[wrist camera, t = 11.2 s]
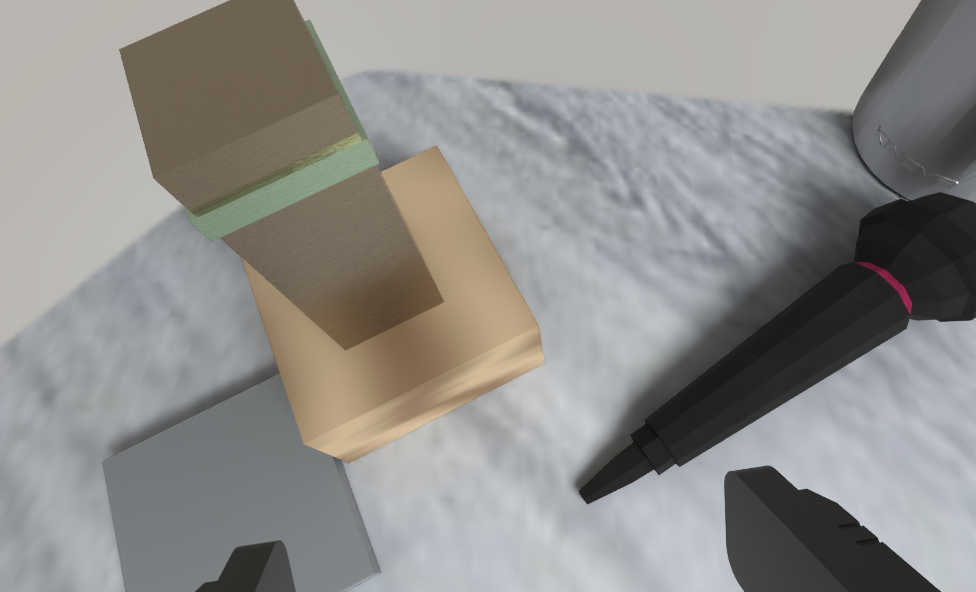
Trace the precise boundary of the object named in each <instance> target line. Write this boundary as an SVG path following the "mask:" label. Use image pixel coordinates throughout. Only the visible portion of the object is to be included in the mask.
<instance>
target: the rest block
mask: <svg viewBox="0 0 976 592" xmlns="http://www.w3.org/2000/svg"><path fill="white" fill-rule="evenodd" d="M381 174H382V176H383V178H384V180H385V182H386V184H387V186H388V188H389V190H390V192H391V193H392V195H393V197H394V199H395V201H396V203H397V205H398V207H399V209H400V211H401V213H402V215H403V217H404V219H405V221H406V223H407V225H408V227H409V230H410V232H411V234H412V236H413V238H414V240H415V242H416V244H417V246H418V248H419V250H420V252H421V254H422V256H423V258H424V260H425V263H426V265H427V267H428V269H429V271H430V273H431V275H432V277H433V279H434V281H435V283H436V285H437V287H438V289H439V291H440V293H441V296H442V298H443V300H444V303H442V304H440V305H438V306H436V307H434V308H432V309H430V310H428V311H426V312H423V313H421V314H419V315H417V316H415V317H413V318H411V319H409V320H407V321H405V322H403V323H401V324H399V325H397V326H395V327H393V328H391V329H389V330H387V331H385V332H382V333H380V334H378V335H376V336H374V337H372V338H370V339H368V340H366V341H364V342H362V343H360V344H358V345H356V346H354V347H352V348H350V349H348V350H346V351H345V350H344V349H343V348H342V347H341V346H340V345H339V344H338V343H336V342H335V341H334V340H333V339H332V338H331V337H330V336H329V335H328V334H326V333H325V332H324V331H323V330H322V329H321V328H320V327H319V326H318V325H316V324H315V323H314V322H313V321H312V320H311V319H310V318H309V317H307V316H306V315H305V314H304V313H303V312H302V311H301V310H300V309H299V308H297V307H296V306H295V305H294V304H293V303H292V302H291V301H290V300H289V299H287V298H286V297H285V296H284V295H283V294H282V293H281V292H280V291H278V290H277V289H276V288H275V287H274V286H273V285H272V284H271V283H270V282H268V281H267V280H266V279H265V278H264V277H263V276H262V275H261V274H260V273H258V272H257V271H256V270H255V269H254V268H253V267H252V266H251V265H249V264H248V263H247V262H246V261H245V260H244V259H243V258H242V257H241V259H242V262H243V265H244V268H245V271H246V274H247V277H248V280H249V283H250V286H251V289H252V292H253V295H254V298H255V301H256V304H257V307H258V310H259V313H260V316H261V319H262V322H263V324H264V327H265V330H266V333H267V336H268V339H269V342H270V345H271V348H272V351H273V354H274V357H275V360H276V363H277V366H278V369H279V372H280V375H281V378H282V381H283V384H284V387H285V390H286V393H287V396H288V399H289V402H290V405H291V408H292V411H293V414H294V417H295V420H296V423H297V426H298V429H299V431H300V434H301V437H302V440H303V443H304V445H307V446H309V447H312V448H314V449H316V450H319V451H321V452H324V453H326V454H329V455H331V456H333V457H336V458H338V459H341V460H343V461H345V462H348V463H350V462H352V461H354V460H356V459H358V458H360V457H362V456H364V455H366V454H368V453H370V452H372V451H374V450H376V449H378V448H379V447H381V446H383V445H385V444H387V443H389V442H391V441H393V440H395V439H397V438H399V437H401V436H403V435H405V434H407V433H409V432H411V431H413V430H415V429H417V428H419V427H421V426H423V425H425V424H426V423H428V422H430V421H432V420H434V419H436V418H438V417H440V416H442V415H444V414H446V413H448V412H450V411H452V410H454V409H456V408H458V407H460V406H462V405H464V404H466V403H468V402H470V401H472V400H473V399H475V398H477V397H479V396H481V395H483V394H485V393H487V392H489V391H491V390H493V389H495V388H497V387H499V386H501V385H503V384H505V383H507V382H509V381H511V380H513V379H515V378H517V377H518V376H520V375H522V374H524V373H526V372H528V371H530V370H532V369H534V368H536V367H538V366H540V365H542V364H544V363H545V362H544V356H543V349H542V343H541V337H540V330H539V325H538V323H537V321H536V320H535V318H534V316H533V314H532V313H531V311H530V309H529V307H528V306H527V304H526V302H525V300H524V298H523V297H522V295H521V293H520V291H519V290H518V288H517V286H516V284H515V283H514V281H513V279H512V277H511V275H510V274H509V272H508V270H507V268H506V267H505V265H504V263H503V261H502V260H501V258H500V256H499V254H498V252H497V251H496V249H495V247H494V245H493V244H492V242H491V240H490V238H489V236H488V235H487V233H486V231H485V229H484V228H483V226H482V224H481V222H480V221H479V219H478V217H477V215H476V213H475V212H474V210H473V208H472V206H471V205H470V203H469V201H468V199H467V198H466V196H465V194H464V192H463V190H462V189H461V187H460V185H459V183H458V182H457V180H456V178H455V176H454V175H453V173H452V171H451V169H450V167H449V166H448V164H447V162H446V160H445V159H444V157H443V155H442V153H441V152H440V150H439V148H438V146H437V145H436V146H434V147H432V148H430V149H428V150H426V151H424V152H422V153H419V154H417V155H415V156H413V157H411V158H409V159H407V160H405V161H403V162H401V163H399V164H396V165H394V166H392V167H390V168H388V169H386V170H384V171H382V172H381Z"/></svg>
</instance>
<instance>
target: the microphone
mask: <svg viewBox="0 0 976 592" xmlns="http://www.w3.org/2000/svg"><path fill="white" fill-rule="evenodd" d="M974 318H976V203H975V202H973V201H970V200H967V199H963V198H960V197H956V196H953V195H949V194H946V193H942V192H938V193H934V194H930V195H926V196H922V197H920V198H917V199H914V200H911V201H909V202H908V201H905V200H902V199H899V200H896V201H894V202H891V203H888V204H886V205H883V206H880V207H878V208H875V209H874V210H872V211H871V212H870V213H869V214H867V215H866V216H865V217H864V218H862V219H861V220H860V228H859V237H858V241H857V243H856V251H855V259H854V262H852V263H848V264H844V265H841V266H839V267H838V268H837V269H836V270H834V271H833V272H832V273H830V274H829V275H828V276H827V277H825V278H824V279H823V280H822V281H820V282H819V283H818V284H816V285H815V286H814V287H813V288H811V289H810V290H809V291H808V292H806V293H805V294H804V295H803V296H801V297H800V298H799V299H797V300H796V301H795V302H794V303H792V304H791V305H790V306H789V307H787V308H786V309H785V310H784V311H782V312H781V313H780V314H778V315H777V316H776V317H775V318H773V319H772V320H771V321H770V322H768V323H767V324H766V325H764V326H763V327H762V328H761V329H759V330H758V331H757V332H756V333H754V334H753V335H752V336H751V337H749V338H748V339H747V340H745V341H744V342H743V343H742V344H740V345H739V346H738V347H737V348H735V349H734V350H733V351H731V352H730V353H729V354H728V355H726V356H725V357H724V358H723V359H721V360H720V361H719V362H718V363H716V364H715V365H714V366H712V367H711V368H710V369H709V370H707V371H706V372H705V373H704V374H702V375H701V376H700V377H699V378H697V379H696V380H695V381H693V382H692V383H691V384H690V385H688V386H687V387H686V388H685V389H683V390H682V391H681V392H679V393H678V394H677V395H676V396H674V397H673V398H672V399H671V400H669V401H668V402H667V403H666V404H664V405H663V406H662V407H660V408H659V409H658V410H657V411H655V412H654V413H653V414H652V415H650V416H649V417H648V418H647V419H645V422H646V424H645V425H644V426H643V427H641V428H640V429H638V430H637V431H635V432H634V433H633V434H631V437H632V439H633V441H634V443H632V444H631V445H630V446H629V447H627V448H626V449H625V450H623V451H622V452H621V453H620V454H618V455H617V456H616V457H615V458H613V459H612V460H611V461H610V462H609V463H608V464H607V465H606V466H605V467H604V468H603V469H602V470H601V471H600V472H599V473H598V474H597V475H596V476H595V477H593V478H592V479H591V480H590V481H589V482H588V483H587V484H586V485H585V486H584V487H583V488H582V489H581V490H580V491H579V493H580V495H581V496H582V498H583V499H584V501H585V502H586V503H587V504H589V503H591V502H593V501H596V500H598V499H600V498H602V497H604V496H606V495H608V494H610V493H612V492H614V491H616V490H618V489H620V488H622V487H624V486H626V485H628V484H631V483H632V482H634V481H636V480H637V479H639V478H641V477H642V476H644V475H646V474H647V473H649V472H650V471H652V470H655V471H656V472H657V473H658V475H660V474H661V473H663V472H664V471H666V470H667V469H669V468H670V467H671V466H673V465H674V464H677V465H678V466H679V467H680V466H682V465H684V464H685V463H687V462H689V461H690V460H692V459H693V458H695V457H697V456H698V455H700V454H702V453H703V452H705V451H707V450H708V449H710V448H712V447H713V446H715V445H716V444H718V443H720V442H721V441H723V440H725V439H726V438H728V437H730V436H731V435H733V434H734V433H736V432H738V431H739V430H741V429H743V428H744V427H746V426H748V425H749V424H751V423H753V422H754V421H756V420H757V419H759V418H761V417H762V416H764V415H766V414H767V413H769V412H771V411H772V410H774V409H775V408H777V407H779V406H780V405H782V404H784V403H785V402H787V401H789V400H790V399H792V398H794V397H795V396H797V395H798V394H800V393H802V392H803V391H805V390H807V389H808V388H810V387H812V386H813V385H815V384H817V383H818V382H820V381H821V380H823V379H825V378H826V377H828V376H830V375H831V374H833V373H835V372H836V371H838V370H839V369H841V368H843V367H844V366H846V365H848V364H849V363H851V362H853V361H854V360H856V359H858V358H859V357H861V356H862V355H864V354H866V353H867V352H869V351H871V350H872V349H874V348H876V347H877V346H879V345H880V344H882V343H884V342H885V341H887V340H889V339H890V338H892V337H894V336H895V335H897V334H899V333H900V332H902V331H903V330H905V329H907V325H908V322H909V319H913V320H938V321H940V322H947V321H969V320H973V319H974Z"/></svg>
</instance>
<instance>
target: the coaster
mask: <svg viewBox="0 0 976 592" xmlns="http://www.w3.org/2000/svg"><path fill="white" fill-rule="evenodd" d="M102 464H103V469H104V475H105V480H106V486H107V491H108V497H109V502H110V508H111V513H112V519H113V524H114V530H115V535H116V541H117V546H118V552H119V557H120V563H121V569H122V574H123V580H124V585H125V591H126V592H195V591H196V590H197V589H198V588H199V587H200V586H201V585H202V584H203V583H205V582H212V581H218V579H219V577H220V575H221V573H222V571H223V569H224V567H225V565H226V563H227V561H228V560H229V558H230V556H231V554H232V552H233V550H234V549H235V548H236V547H239V546H245V545H252V544H258V543H265V542H271V541H278V540H281V541H282V542H283V543H284V545H285V547H286V550H287V554H288V558H289V563H290V567H291V572H292V576H293V581H294V585H295V589H296V592H346V591H348V590H350V589H351V588H353V587H355V586H357V585H359V584H361V583H363V582H365V581H367V580H369V579H370V578H372V577H374V576H376V575H378V574H380V573H381V571H380V568H379V565H378V562H377V560H376V557H375V554H374V551H373V549H372V546H371V543H370V540H369V537H368V535H367V532H366V529H365V526H364V524H363V521H362V518H361V515H360V512H359V510H358V507H357V504H356V501H355V499H354V496H353V493H352V490H351V487H350V485H349V482H348V479H347V476H346V474H345V471H344V468H343V465H342V462H341V460H340V459H338V458H336V457H333V456H331V455H329V454H326V453H324V452H321V451H319V450H316V449H314V448H312V447H309V446H307V445H304V443H303V440H302V437H301V434H300V431H299V429H298V426H297V423H296V420H295V417H294V414H293V411H292V408H291V405H290V402H289V399H288V396H287V393H286V390H285V387H284V384H283V381H282V378H281V375H280V373H279V374H277V375H275V376H273V377H271V378H269V379H267V380H265V381H263V382H261V383H259V384H257V385H255V386H253V387H251V388H249V389H247V390H245V391H243V392H241V393H239V394H237V395H235V396H233V397H231V398H229V399H227V400H225V401H223V402H221V403H219V404H217V405H215V406H213V407H211V408H209V409H207V410H205V411H203V412H201V413H199V414H197V415H195V416H193V417H191V418H189V419H187V420H185V421H183V422H181V423H178V424H176V425H174V426H172V427H170V428H168V429H166V430H164V431H162V432H160V433H158V434H156V435H154V436H152V437H150V438H148V439H146V440H144V441H142V442H140V443H138V444H136V445H134V446H132V447H130V448H128V449H126V450H124V451H122V452H120V453H118V454H116V455H114V456H112V457H110V458H108V459H106V460H104V461H102Z"/></svg>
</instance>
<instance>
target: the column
mask: <svg viewBox="0 0 976 592" xmlns="http://www.w3.org/2000/svg"><path fill="white" fill-rule="evenodd" d="M119 51H120V54H121V58H122V62H123V66H124V69H125V73H126V77H127V80H128V84H129V88H130V92H131V95H132V99H133V103H134V107H135V110H136V114H137V118H138V122H139V126H140V129H141V133H142V137H143V141H144V144H145V148H146V152H147V156H148V159H149V163H150V167H151V170H152V174H153V178H154V179H155V180H156V181H157V182H158V183H159V184H160V185H161V186H163V187H164V188H165V189H166V190H167V191H168V192H169V193H170V194H172V195H173V196H174V197H175V198H176V199H177V200H178V201H179V202H180V203H181V204H183V205H184V206H185V209H186V213H187V216H188V220H189V222H190V223H191V224H192V225H193V226H195V227H196V228H197V229H198V230H199V231H200V232H202V233H203V234H204V235H205V236H206V237H207V238H208V239H210V240H211V241H214V240H217V239H219V238H220V239H222V240H223V241H224V242H225V243H226V244H227V245H228V246H229V247H231V248H232V249H233V250H234V251H235V252H236V253H237V254H238V255H239V256H241V257H242V258H243V259H244V260H245V261H246V262H247V263H248V264H249V265H251V266H252V267H253V268H254V269H255V270H256V271H257V272H258V273H260V274H261V275H262V276H263V277H264V278H265V279H266V280H267V281H268V282H270V283H271V284H272V285H273V286H274V287H275V288H276V289H277V290H278V291H280V292H281V293H282V294H283V295H284V296H285V297H286V298H287V299H289V300H290V301H291V302H292V303H293V304H294V305H295V306H296V307H297V308H299V309H300V310H301V311H302V312H303V313H304V314H305V315H306V316H307V317H309V318H310V319H311V320H312V321H313V322H314V323H315V324H316V325H318V326H319V327H320V328H321V329H322V330H323V331H324V332H325V333H326V334H328V335H329V336H330V337H331V338H332V339H333V340H334V341H335V342H336V343H338V344H339V345H340V346H341V347H342V348H343V349H344V350H345V351H346V350H348V349H350V348H352V347H354V346H356V345H358V344H360V343H362V342H364V341H366V340H368V339H370V338H372V337H374V336H376V335H378V334H380V333H382V332H385V331H387V330H389V329H391V328H393V327H395V326H397V325H399V324H401V323H403V322H405V321H407V320H409V319H411V318H413V317H415V316H417V315H419V314H421V313H423V312H426V311H428V310H430V309H432V308H434V307H436V306H438V305H440V304H442V303H444V300H443V298H442V296H441V293H440V291H439V289H438V287H437V285H436V283H435V281H434V279H433V277H432V275H431V273H430V271H429V269H428V267H427V265H426V263H425V260H424V258H423V256H422V254H421V252H420V250H419V248H418V246H417V244H416V242H415V240H414V238H413V236H412V234H411V232H410V230H409V227H408V225H407V223H406V221H405V219H404V217H403V215H402V213H401V211H400V209H399V207H398V205H397V203H396V201H395V199H394V197H393V195H392V193H391V192H390V190H389V188H388V186H387V184H386V182H385V180H384V178H383V176H382V174H381V172H380V170H379V168H378V166H377V164H379V163H380V162H379V160H378V158H377V156H376V154H375V152H374V150H373V148H372V146H371V144H370V142H369V140H368V138H367V136H366V134H365V132H364V130H363V127H362V125H361V123H360V121H359V119H358V117H357V115H356V113H355V111H354V109H353V107H352V105H351V103H350V101H349V99H348V97H347V95H346V93H345V90H344V88H343V86H342V84H341V82H340V80H339V78H338V76H337V74H336V72H335V70H334V68H333V66H332V64H331V62H330V60H329V58H328V56H327V54H326V52H325V50H324V47H323V45H322V43H321V41H320V39H319V37H318V35H317V33H316V31H315V29H314V27H313V25H312V23H311V21H310V20H307V21H304V19H303V17H302V15H301V13H300V11H299V10H298V8H297V6H296V4H295V2H294V0H230V1H227V2H225V3H223V4H221V5H218V6H216V7H214V8H211V9H209V10H207V11H205V12H203V13H200V14H198V15H196V16H193V17H191V18H189V19H187V20H184V21H182V22H180V23H178V24H175V25H173V26H171V27H169V28H166V29H164V30H162V31H160V32H157V33H155V34H153V35H151V36H148V37H146V38H144V39H142V40H139V41H137V42H135V43H133V44H130V45H128V46H126V47H124V48H122V49H119Z"/></svg>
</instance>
